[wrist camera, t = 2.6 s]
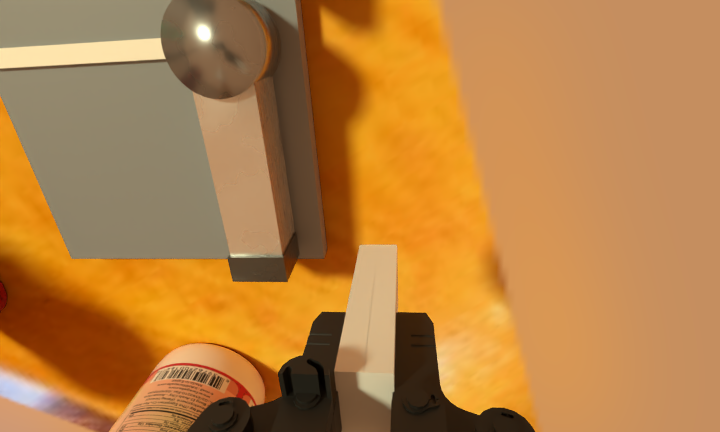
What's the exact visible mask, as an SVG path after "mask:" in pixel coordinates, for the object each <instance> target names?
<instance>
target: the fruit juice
mask: <svg viewBox="0 0 720 432" xmlns="http://www.w3.org/2000/svg"><path fill="white" fill-rule="evenodd" d="M227 397H239V398H241V399H243V400H245V401H246V402H247V404H248V405H249V407H252V406H256V405H260V404H264V401H265V387H264V382H263V380H262V377H261V376H260V374H259V372H258V371H257V370H256V368H255V367H254V366H253V365H252V364H251V363H250V362H249V361H248V360H246V359H245V358H244V357H242V356H241V355H239V354H237V353H236V352H234V351H232V350H229V349H227V348H224V347H221V346H218V345H213V344H206V343H193V344H187V345H184V346H181V347H178V348H176V349H174V350H173V351H171V352H170V353H169V354H167V355H166V356H165V357H164V358H163V359H162V360H161V361H160V362H159V363H158V365H157V366H156V367H155V369H154V370H153V372H152V373H151V374H150V376H149V377H148V378H147V380H146V381H145V383H144V384H143V385H142V387H141V388H140V389H139V391H138V392H137V394H136V395H135V396H134V398H133V399H132V400H131V402H130V403H129V405H128V406H127V407H126V409H125V410H124V412H123V413H122V414H121V416H120V417H119V418H118V420H117V421H116V423H115V424H114V425H113V427H112V428H111V430H110V431H109V432H186V431H187V430H188V429H189V428H190V427H191V425H192V424H193V423H194V422H195V420H196V419H197V418H198V417H199V415H200V414H201V413H202V412H203V411H204V410H205V409H206V408H207V407H208V406H209V405H210V404H212V403H214V402H216V401H218V400H219V399H223V398H227Z"/></svg>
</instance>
